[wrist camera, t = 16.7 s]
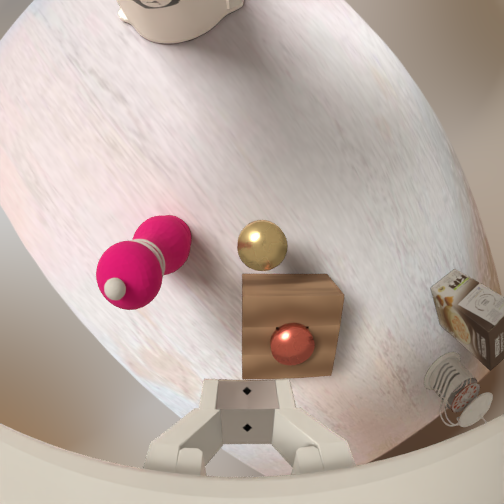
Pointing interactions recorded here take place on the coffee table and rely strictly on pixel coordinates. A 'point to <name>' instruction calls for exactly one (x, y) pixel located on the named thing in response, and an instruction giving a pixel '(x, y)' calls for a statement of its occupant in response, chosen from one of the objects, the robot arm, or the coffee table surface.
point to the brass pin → (262, 245)
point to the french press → (449, 379)
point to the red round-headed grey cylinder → (292, 344)
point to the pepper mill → (143, 262)
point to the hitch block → (289, 311)
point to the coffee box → (471, 316)
